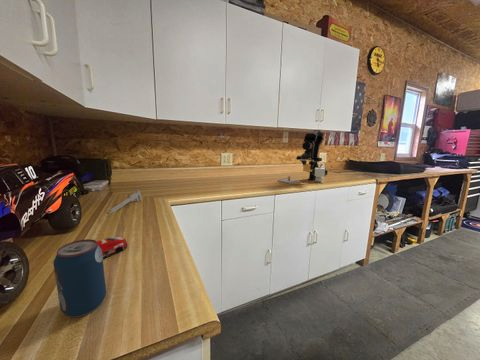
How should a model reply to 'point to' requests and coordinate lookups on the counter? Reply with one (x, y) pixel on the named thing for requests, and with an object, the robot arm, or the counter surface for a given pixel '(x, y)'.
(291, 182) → the junction plate
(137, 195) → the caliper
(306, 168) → the wire nut cap
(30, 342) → the counter surface
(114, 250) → the race car
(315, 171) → the pneumatic valve
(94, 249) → the soda can
